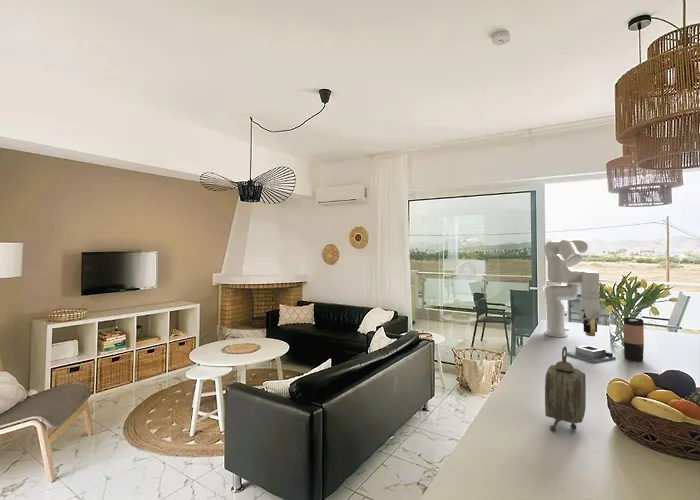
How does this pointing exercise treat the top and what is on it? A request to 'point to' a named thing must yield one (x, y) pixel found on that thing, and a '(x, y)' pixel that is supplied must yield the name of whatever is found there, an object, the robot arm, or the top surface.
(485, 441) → the top surface
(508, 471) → the top surface
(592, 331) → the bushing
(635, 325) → the travel mug
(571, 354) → the jig
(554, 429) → the rustic cowbell
